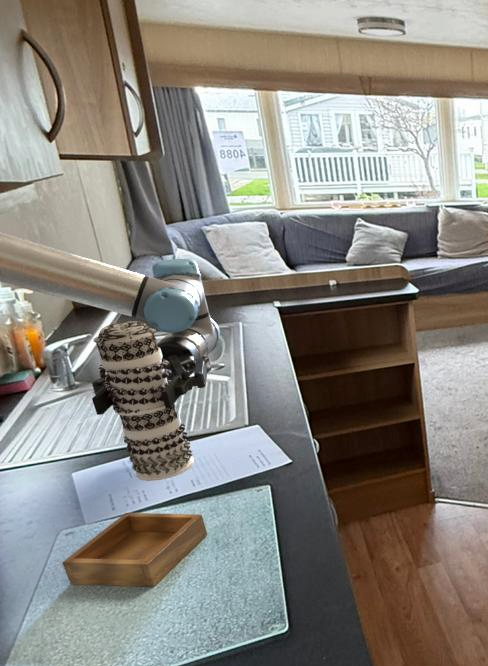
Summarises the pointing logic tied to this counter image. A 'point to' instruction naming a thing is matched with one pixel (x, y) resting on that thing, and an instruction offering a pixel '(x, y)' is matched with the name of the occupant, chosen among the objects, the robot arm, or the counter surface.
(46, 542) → the counter surface
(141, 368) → the decorative candle
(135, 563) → the tray
